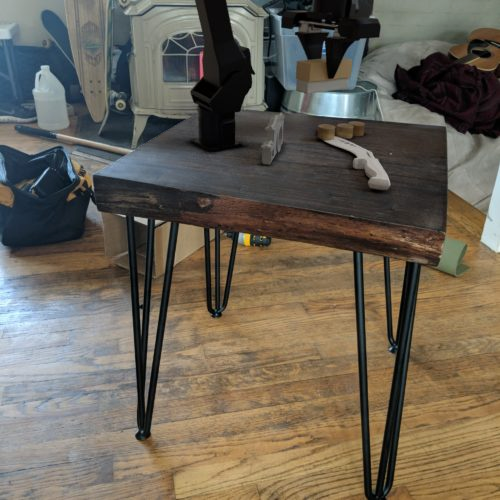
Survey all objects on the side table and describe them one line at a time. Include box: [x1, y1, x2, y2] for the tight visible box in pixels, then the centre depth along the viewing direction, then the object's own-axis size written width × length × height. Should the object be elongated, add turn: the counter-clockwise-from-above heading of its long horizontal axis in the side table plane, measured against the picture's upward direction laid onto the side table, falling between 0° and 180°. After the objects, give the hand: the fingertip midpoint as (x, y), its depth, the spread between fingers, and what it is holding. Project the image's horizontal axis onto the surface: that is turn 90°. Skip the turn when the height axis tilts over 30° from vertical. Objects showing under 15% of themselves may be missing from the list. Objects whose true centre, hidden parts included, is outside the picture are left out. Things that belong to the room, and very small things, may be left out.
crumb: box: [347, 120, 366, 137], centre depth 95 cm, size 3×3×2 cm
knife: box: [321, 135, 391, 191], centre depth 83 cm, size 30×2×8 cm
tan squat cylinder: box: [316, 123, 336, 141], centre depth 91 cm, size 3×3×2 cm
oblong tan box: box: [295, 57, 353, 95], centre depth 91 cm, size 4×10×5 cm, turn 126°
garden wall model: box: [260, 112, 286, 166], centre depth 82 cm, size 12×2×6 cm, turn 167°
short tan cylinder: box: [335, 123, 354, 140], centre depth 93 cm, size 3×3×2 cm
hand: (323, 76), depth 91 cm, fingers closed on oblong tan box, 3 cm apart
